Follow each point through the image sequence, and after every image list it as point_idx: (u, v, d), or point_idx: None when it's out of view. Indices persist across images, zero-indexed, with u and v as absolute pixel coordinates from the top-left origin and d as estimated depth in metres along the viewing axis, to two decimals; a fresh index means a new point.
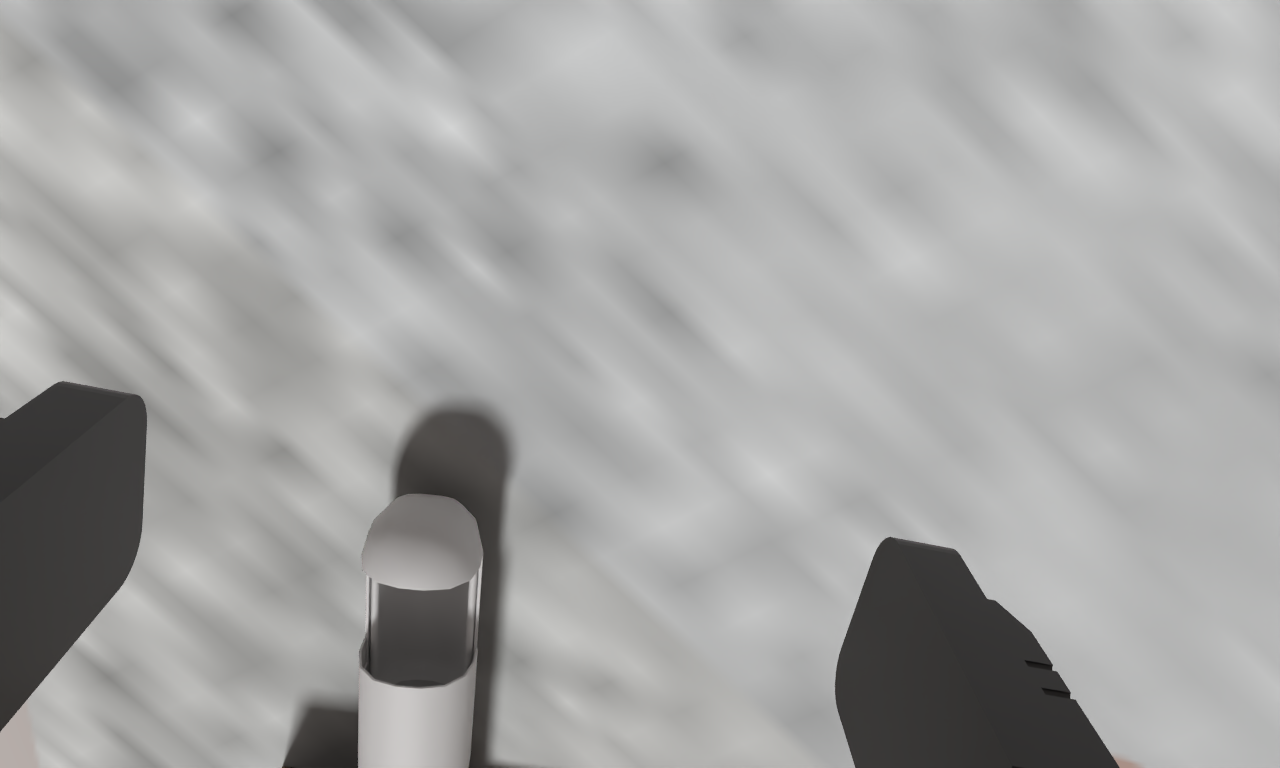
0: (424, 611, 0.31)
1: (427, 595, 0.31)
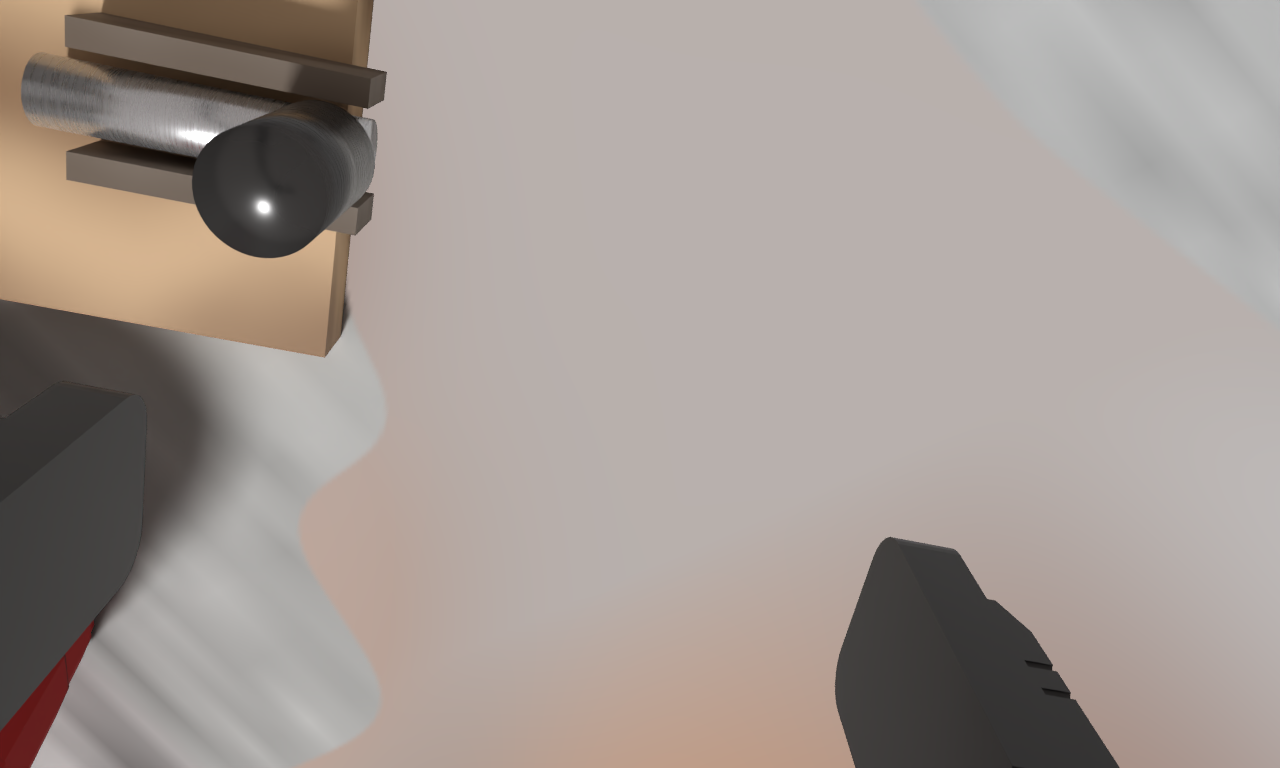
0: None
1: None
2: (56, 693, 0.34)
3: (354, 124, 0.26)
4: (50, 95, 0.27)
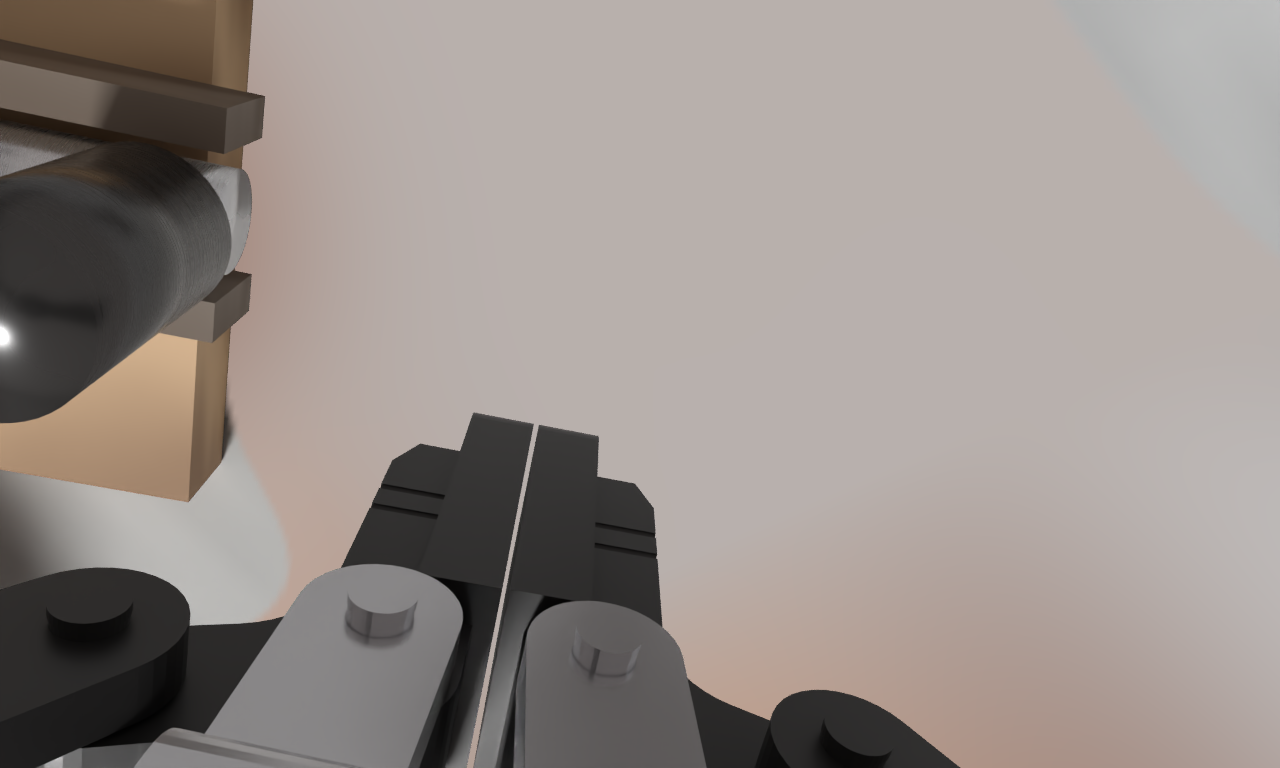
0: None
1: None
2: None
3: (191, 182, 0.16)
4: None
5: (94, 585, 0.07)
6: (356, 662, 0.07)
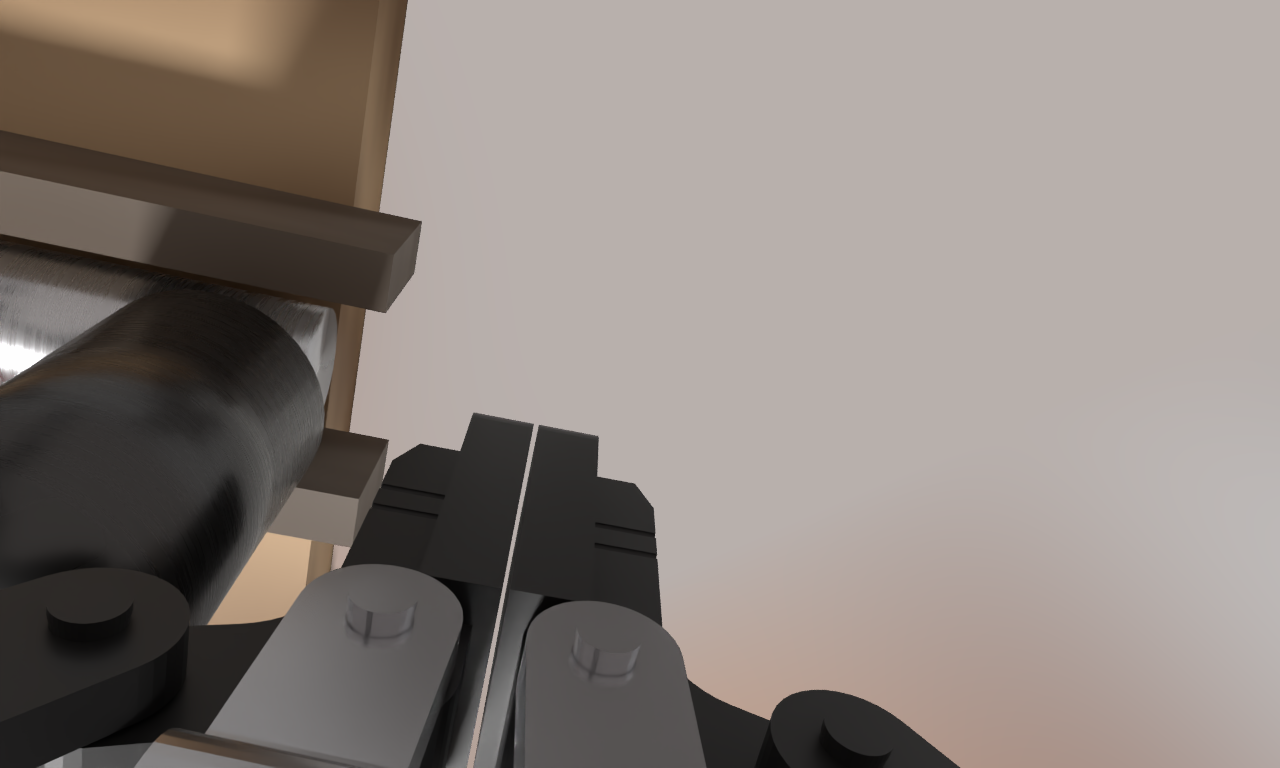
0: None
1: None
2: None
3: (276, 350, 0.12)
4: None
5: (95, 584, 0.07)
6: (356, 662, 0.07)
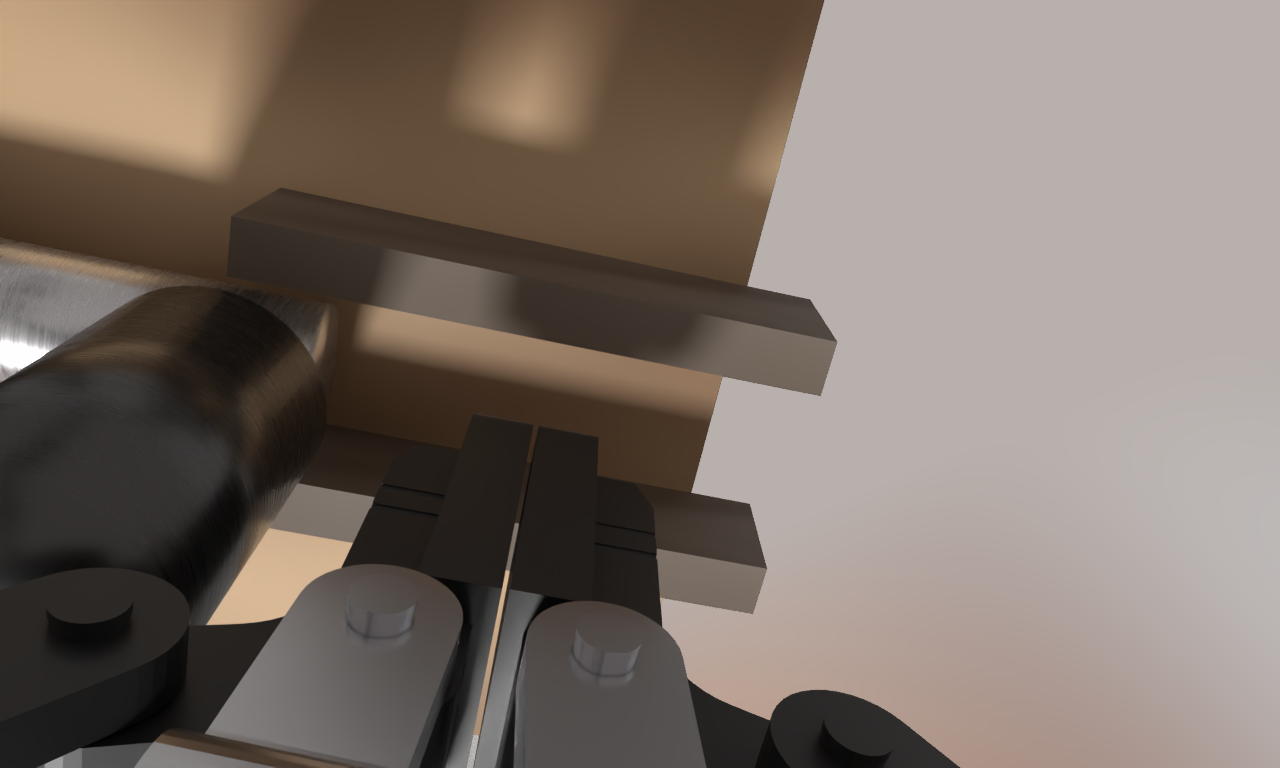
0: None
1: None
2: None
3: (279, 345, 0.12)
4: None
5: (94, 585, 0.07)
6: (356, 662, 0.07)
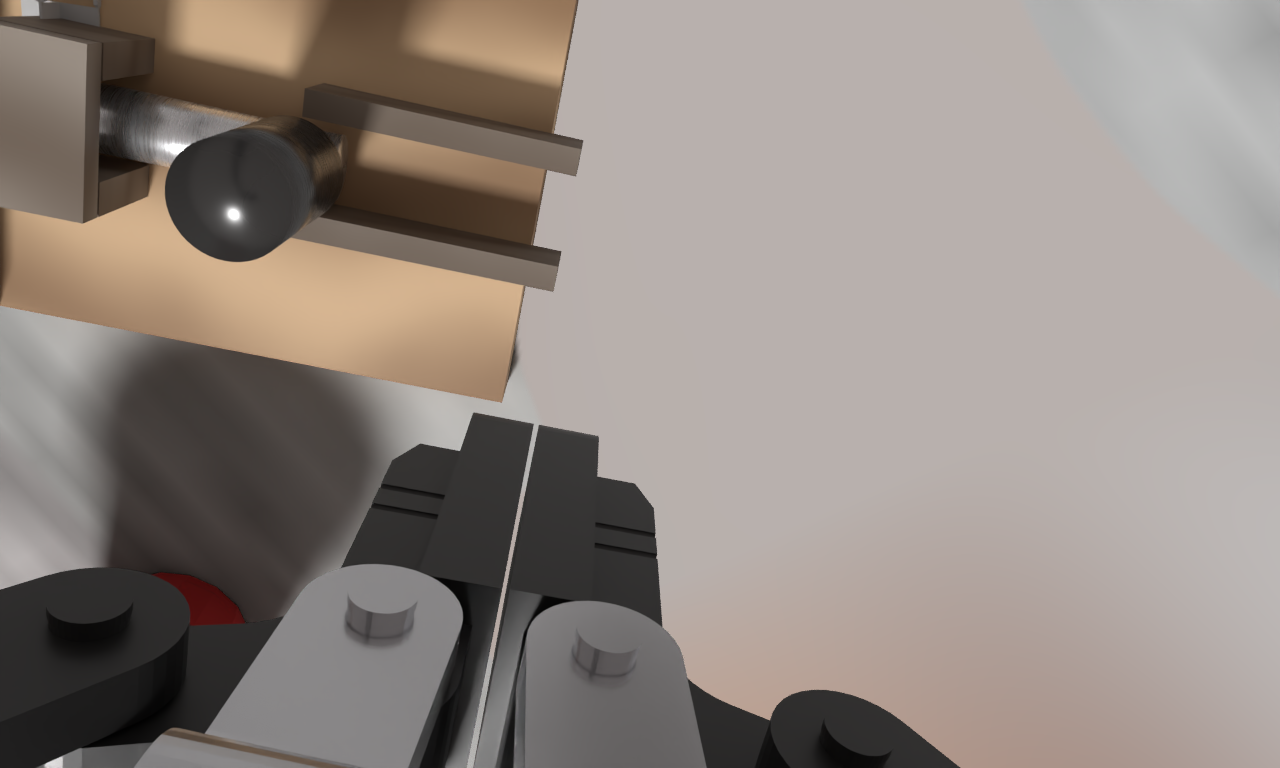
0: None
1: None
2: None
3: (323, 139, 0.27)
4: None
5: (94, 584, 0.07)
6: (356, 662, 0.07)
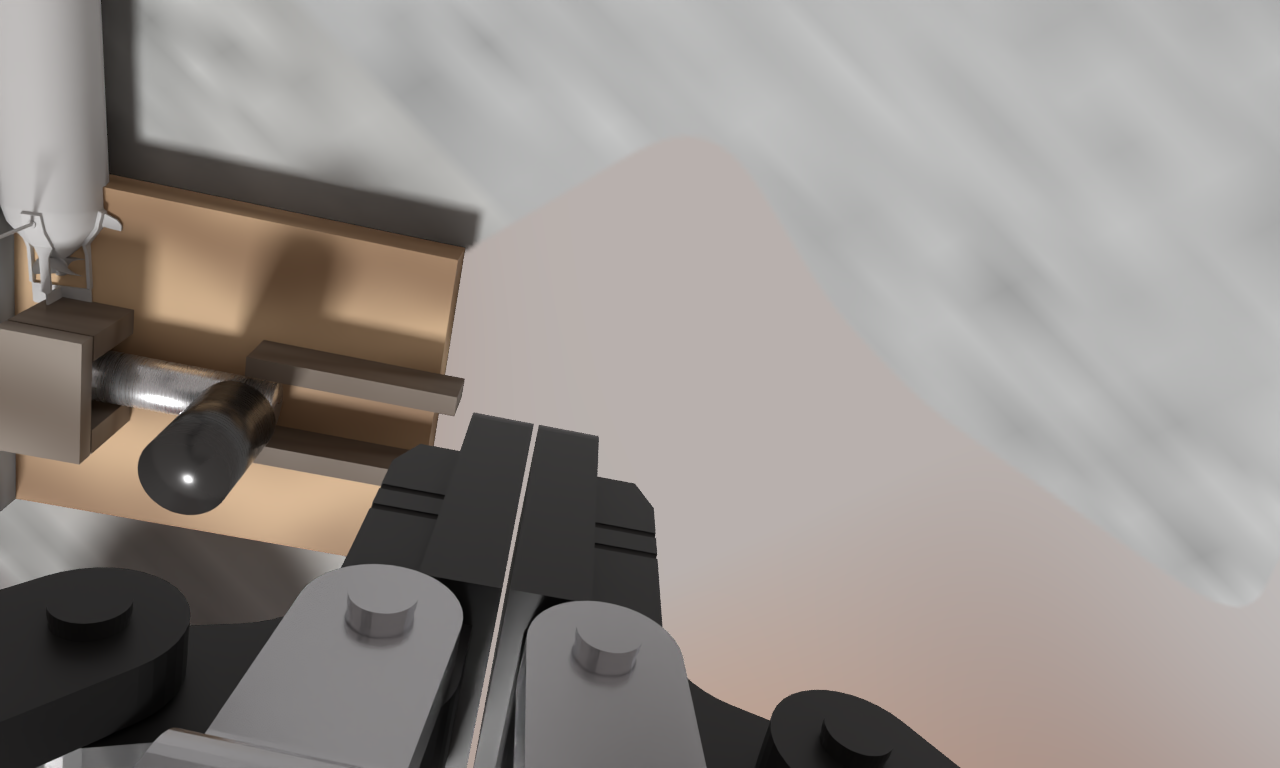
0: None
1: None
2: None
3: (258, 401, 0.37)
4: None
5: (94, 585, 0.07)
6: (356, 662, 0.07)
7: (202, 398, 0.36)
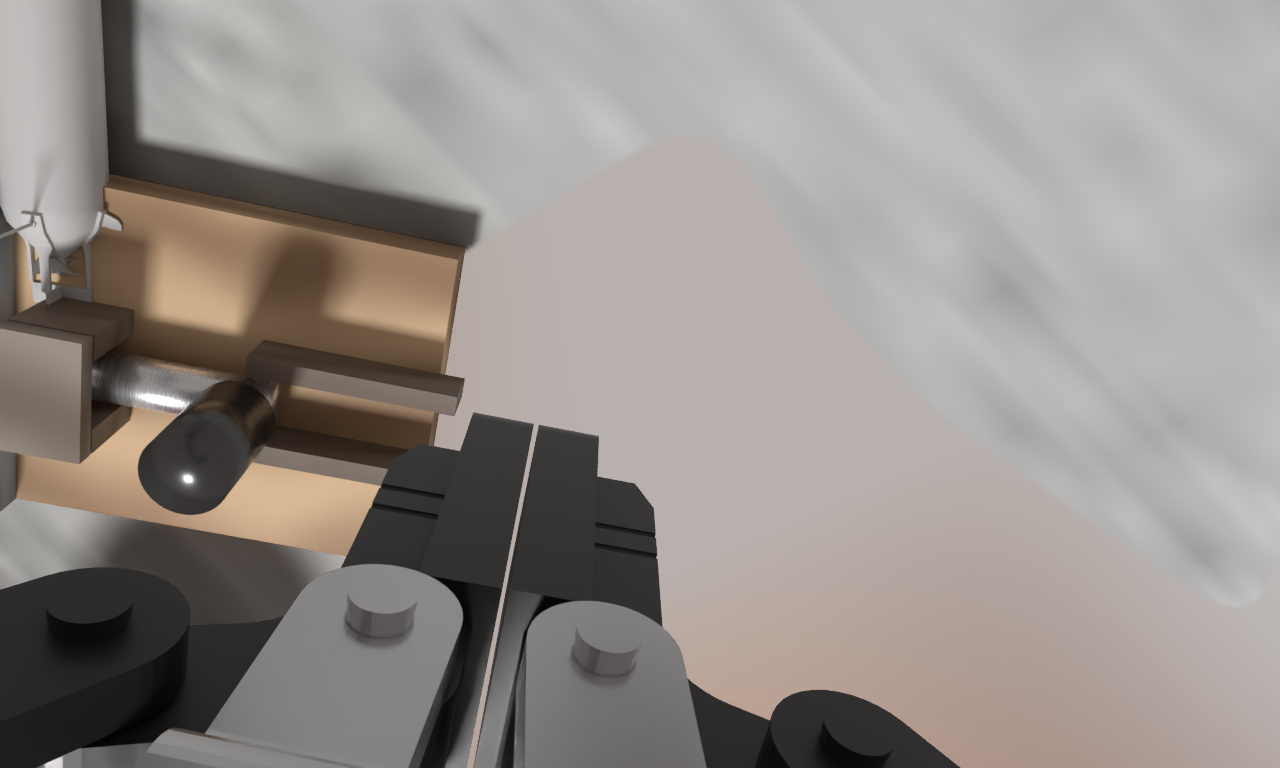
0: None
1: None
2: None
3: (258, 400, 0.37)
4: None
5: (95, 584, 0.07)
6: (356, 662, 0.07)
7: (202, 398, 0.36)
